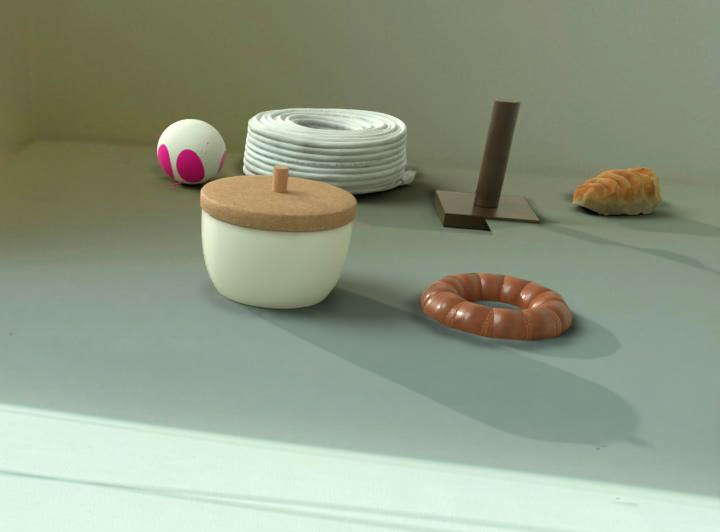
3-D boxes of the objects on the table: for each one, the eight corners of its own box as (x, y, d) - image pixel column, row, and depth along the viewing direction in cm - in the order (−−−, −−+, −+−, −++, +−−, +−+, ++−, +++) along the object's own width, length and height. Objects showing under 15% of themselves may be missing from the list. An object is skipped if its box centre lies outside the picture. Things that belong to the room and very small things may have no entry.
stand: (520, 209, 95) (547, 95, 88) (536, 233, 88) (567, 112, 81) (433, 202, 95) (453, 88, 88) (442, 226, 88) (465, 104, 81)
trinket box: (172, 316, 65) (174, 170, 59) (230, 275, 73) (236, 142, 67) (317, 346, 62) (334, 195, 56) (360, 299, 70) (379, 163, 64)
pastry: (602, 221, 93) (614, 180, 90) (552, 204, 97) (562, 165, 95) (662, 213, 97) (675, 173, 94) (612, 197, 101) (623, 159, 99)
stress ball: (152, 212, 97) (126, 160, 92) (191, 156, 99) (167, 101, 93) (209, 224, 94) (185, 171, 88) (248, 166, 95) (227, 109, 90)
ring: (548, 311, 70) (558, 274, 69) (578, 364, 62) (590, 323, 60) (412, 300, 70) (419, 262, 69) (425, 352, 62) (432, 310, 61)
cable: (424, 179, 102) (435, 118, 99) (368, 212, 90) (377, 143, 86) (283, 155, 108) (288, 96, 104) (212, 182, 96) (214, 116, 92)
